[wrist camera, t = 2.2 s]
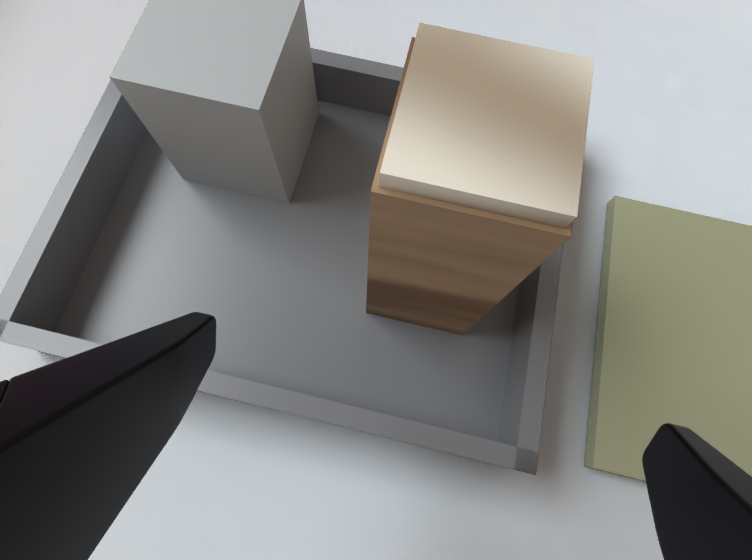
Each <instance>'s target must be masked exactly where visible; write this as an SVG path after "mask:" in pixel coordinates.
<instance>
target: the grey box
mask: <svg viewBox="0 0 752 560" xmlns="http://www.w3.org/2000/svg"><path fill="white" fill-rule="evenodd" d="M110 78H111V80H112V81H113V83H114V84H115V85H116V87H117V88H118V90H119V91H120V92H121V94H122V95H123V96H124V98H125V99H126V101H127V102H128V103H129V105H130V106H131V108H132V109H133V110H134V112H135V113H136V114H137V116H138V117H139V119H140V120H141V121H142V123H143V124H144V126H145V127H146V128H147V130H148V131H149V133H150V134H151V135H152V137H153V138H154V139H155V141H156V142H157V144H158V145H159V146H160V148H161V149H162V151H163V152H164V153H165V155H166V156H167V157H168V159H169V160H170V162H171V163H172V164H173V166H174V167H175V169H176V170H177V171H178V173H179V174H180V175H181V177H182V178H183V179H185V180H189V181H194V182H198V183H202V184H207V185H211V186H215V187H220V188H224V189H229V190H233V191H237V192H242V193H246V194H250V195H255V196H259V197H264V198H268V199H272V200H277V201H281V202H285V203H290V200H291V197H292V194H293V190H294V187H295V184H296V181H297V178H298V175H299V172H300V169H301V166H302V163H303V160H304V157H305V154H306V151H307V148H308V145H309V142H310V139H311V136H312V133H313V130H314V127H315V124H316V121H317V118H318V115H319V109H318V102H317V94H316V87H315V80H314V72H313V65H312V57H311V50H310V43H309V35H308V28H307V21H306V13H305V6H304V0H149V2H148V3H147V5H146V7H145V9H144V11H143V13H142V15H141V17H140V19H139V21H138V23H137V25H136V27H135V29H134V31H133V33H132V34H131V36H130V38H129V40H128V42H127V44H126V46H125V48H124V50H123V52H122V54H121V56H120V58H119V60H118V62H117V64H116V65H115V67H114V69H113V71H112V73H111V75H110Z"/></svg>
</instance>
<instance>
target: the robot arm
mask: <svg viewBox="0 0 752 560" xmlns="http://www.w3.org/2000/svg"><path fill="white" fill-rule="evenodd" d="M215 351H216V318H215V317H214V316H213V315H209V314H205V313H201V312H192V313H189V314H186V315H184V316H181V317H178V318H175V319H173V320H170V321H167V322H164V323H162V324H159V325H156V326H153V327H151V328H148V329H145V330H142V331H140V332H137V333H134V334H131V335H128V336H126V337H123V338H120V339H117V340H115V341H112V342H109V343H106V344H104V345H101V346H98V347H95V348H93V349H90V350H87V351H84V352H82V353H79V354H76V355H73V356H70V357H68V358H65V359H62V360H59V361H57V362H54V363H51V364H48V365H46V366H43V367H40V368H37V369H34V370H32V371H29V372H26V373H23V374H21V375H18V376H15V377H13V378H11V379H10V381H8V380H4V381H1V382H0V560H88V558H89V557H90V555H91V554H92V553H93V551H94V550H95V548H96V547H97V545H98V544H99V542H100V541H101V539H102V538H103V536H104V535H105V533H106V532H107V530H108V529H109V527H110V526H111V524H112V523H113V521H114V520H115V519H116V517H117V516H118V514H119V513H120V511H121V510H122V508H123V507H124V505H125V504H126V502H127V501H128V499H129V498H130V496H131V495H132V493H133V492H134V490H135V489H136V487H137V486H138V485H139V483H140V482H141V480H142V479H143V477H144V476H145V474H146V473H147V471H148V470H149V468H150V467H151V465H152V464H153V462H154V461H155V459H156V458H157V456H158V455H159V453H160V452H161V451H162V449H163V448H164V446H165V445H166V443H167V442H168V440H169V439H170V437H171V436H172V434H173V433H174V431H175V430H176V428H177V426H178V425H179V423H180V422H181V420H182V418H183V416H184V414H185V413H186V411H187V409H188V407H189V405H190V403H191V401H192V399H193V397H194V395H195V393H196V391H197V390H198V388H199V386H200V384H201V382H202V380H203V378H204V376H205V374H206V372H207V370H208V369H209V367H210V365H211V363H212V361H213V358H214V356H215ZM642 465H643V470H644V475H645V479H646V484H647V489H648V494H649V499H650V504H651V508H652V513H653V518H654V523H655V528H656V532H657V536H658V540H659V544H660V547H661V551H662V554H663V558H664V560H752V476H750V475H749V474H748V473H746V472H745V471H744V470H743V469H741V468H740V467H739V466H737V465H736V464H735V463H734V462H732V461H731V460H730V459H728V458H727V457H726V456H725V455H723V454H722V453H721V452H719V451H718V450H717V449H715V448H714V447H713V446H712V445H710V444H709V443H708V442H706V441H705V440H704V439H703V438H701V437H700V436H699V435H697V434H696V433H695V432H694V431H692V430H691V429H689V428H687V427H684V426H680V425H675V424H671V423H665V424H663V425H661V426H660V427H659V429H658V430H657V432H656V433H655V435H654V437H653V438H652V440H651V441H650V443H649V444H648V446H647V447H646V449H645V451H644V453H643V457H642Z"/></svg>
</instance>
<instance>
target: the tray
mask: <svg viewBox="0 0 752 560" xmlns="http://www.w3.org/2000/svg"><path fill="white" fill-rule="evenodd" d="M310 50H311V57H312V65H313V72H314V80H315V87H316V94H317V102H318V109H319V115H318V118H317V121H316V124H315V127H314V130H313V133H312V136H311V139H310V142H309V145H308V148H307V151H306V154H305V157H304V160H303V163H302V166H301V169H300V172H299V175H298V178H297V181H296V184H295V187H294V190H293V194H292V197H291V200H290V203H285V202H281V201H277V200H272V199H268V198H264V197H259V196H255V195H250V194H246V193H242V192H237V191H233V190H229V189H224V188H220V187H215V186H211V185H207V184H202V183H198V182H194V181H189V180H185V179H183V178H182V177H181V175H180V174H179V173H178V171H177V170H176V169H175V167H174V166H173V164H172V163H171V162H170V160H169V159H168V157H167V156H166V155H165V153H164V152H163V151H162V149H161V148H160V146H159V145H158V144H157V142H156V141H155V139H154V138H153V137H152V135H151V134H150V133H149V131H148V130H147V128H146V127H145V126H144V124H143V123H142V121H141V120H140V119H139V117H138V116H137V114H136V113H135V112H134V110H133V109H132V108H131V106H130V105H129V103H128V102H127V101H126V99H125V98H124V96H123V95H122V94H121V92H120V91H119V90H118V88H117V87H116V85H115V84H114V83H113V81H112V80H110V82H109V84H108V86H107V88H106V90H105V92H104V94H103V96H102V98H101V100H100V102H99V104H98V106H97V108H96V110H95V112H94V114H93V115H92V117H91V119H90V121H89V123H88V125H87V127H86V129H85V131H84V133H83V135H82V137H81V139H80V141H79V143H78V145H77V147H76V149H75V150H74V152H73V154H72V156H71V158H70V160H69V162H68V164H67V166H66V168H65V170H64V172H63V174H62V176H61V178H60V180H59V182H58V184H57V186H56V187H55V189H54V191H53V193H52V195H51V197H50V199H49V201H48V203H47V205H46V207H45V209H44V211H43V213H42V215H41V217H40V219H39V221H38V222H37V224H36V226H35V228H34V230H33V232H32V234H31V236H30V238H29V240H28V242H27V244H26V246H25V248H24V250H23V252H22V254H21V256H20V258H19V259H18V261H17V263H16V265H15V267H14V269H13V271H12V273H11V275H10V277H9V279H8V281H7V283H6V285H5V287H4V289H3V291H2V293H1V294H0V341H1V342H5V343H9V344H13V345H17V346H21V347H25V348H29V349H33V350H37V351H41V352H45V353H49V354H53V355H57V356H61V357H65V358H68V357H70V356H73V355H76V354H79V353H82V352H84V351H87V350H90V349H93V348H95V347H98V346H101V345H104V344H106V343H109V342H112V341H115V340H117V339H120V338H123V337H126V336H128V335H131V334H134V333H137V332H140V331H142V330H145V329H148V328H151V327H153V326H156V325H159V324H162V323H164V322H167V321H170V320H173V319H175V318H178V317H181V316H184V315H186V314H189V313H192V312H201V313H205V314H209V315H213V316H214V317H215V318H216V351H215V356H214V358H213V361H212V363H211V365H210V367H209V369H208V370H207V372H206V374H205V376H204V378H203V380H202V382H201V384H200V386H199V388H198V390H197V391H201V392H205V393H209V394H213V395H217V396H221V397H225V398H229V399H233V400H237V401H241V402H245V403H249V404H253V405H257V406H261V407H266V408H270V409H274V410H278V411H282V412H286V413H290V414H294V415H298V416H302V417H306V418H310V419H314V420H318V421H322V422H326V423H330V424H334V425H338V426H342V427H346V428H350V429H354V430H358V431H362V432H366V433H370V434H374V435H378V436H382V437H386V438H390V439H394V440H398V441H402V442H406V443H410V444H414V445H418V446H422V447H426V448H430V449H434V450H438V451H442V452H446V453H450V454H454V455H458V456H462V457H466V458H470V459H474V460H478V461H482V462H486V463H490V464H494V465H498V466H502V467H506V468H510V469H514V470H518V471H522V472H526V473H530V474H534V475H536V469H537V460H538V451H539V443H540V434H541V426H542V417H543V409H544V400H545V392H546V383H547V375H548V366H549V358H550V349H551V341H552V332H553V324H554V315H555V307H556V298H557V290H558V281H559V272H560V264H561V255H562V247H563V244H562V245H561V246H560V247H559V248H558V249H557V250H556V251H555V252H553V253H552V254H551V255H550V256H549V257H548V258H547V259H546V260H545V261H544V262H542V263H541V264H540V265H539V266H538V267H537V268H536V269H535V270H534V271H533V272H531V273H530V274H529V275H528V276H527V277H526V278H525V279H524V280H523V281H522V282H520V283H519V284H518V285H517V286H516V287H515V288H514V289H513V290H512V291H511V292H509V293H508V294H507V295H506V296H505V297H504V298H503V299H502V300H501V301H500V302H498V303H497V304H496V305H495V306H494V307H493V308H492V309H491V310H490V311H488V312H487V313H486V314H485V315H484V316H483V317H482V318H481V319H480V320H479V321H477V322H476V323H475V324H474V325H473V326H472V327H471V328H470V329H469V330H468V331H466V332H465V333H464V334H463V335H462V336H461V335H457V334H453V333H449V332H444V331H440V330H436V329H432V328H428V327H423V326H419V325H415V324H411V323H407V322H402V321H398V320H394V319H390V318H386V317H381V316H377V315H373V314H369V313H366V298H367V272H368V246H369V220H370V193H371V188H372V184H373V181H374V177H375V173H376V169H377V166H378V162H379V158H380V155H381V151H382V147H383V143H384V140H385V136H386V132H387V129H388V125H389V121H390V118H391V114H392V110H393V106H394V103H395V99H396V95H397V92H398V88H399V84H400V80H401V77H402V73H403V69H404V68H402V67H397V66H392V65H388V64H383V63H378V62H374V61H369V60H364V59H360V58H355V57H350V56H346V55H341V54H336V53H331V52H327V51H322V50H317V49H313V48H310Z"/></svg>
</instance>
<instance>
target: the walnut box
mask: <svg viewBox="0 0 752 560" xmlns="http://www.w3.org/2000/svg"><path fill="white" fill-rule="evenodd" d="M593 67H594V59H591V58H586V57H581V56H576V55H572V54H567V53H562V52H557V51H553V50H548V49H543V48H538V47H533V46H529V45H524V44H519V43H514V42H509V41H505V40H500V39H495V38H490V37H485V36H481V35H476V34H471V33H466V32H462V31H457V30H452V29H447V28H442V27H438V26H433V25H428V24H423V23H420V24H419V27H418V31H417V35H416V38H414V37H412V40H411V43H410V47H409V51H408V55H407V58H406V62H405V66H404V69H403V73H402V77H401V80H400V84H399V88H398V92H397V95H396V99H395V103H394V106H393V110H392V114H391V118H390V121H389V125H388V129H387V132H386V136H385V140H384V143H383V147H382V151H381V155H380V158H379V162H378V166H377V169H376V173H375V177H374V181H373V184H372V188H371V193H370V220H369V246H368V272H367V298H366V313H369V314H373V315H377V316H381V317H386V318H390V319H394V320H398V321H402V322H407V323H411V324H415V325H419V326H423V327H428V328H432V329H436V330H440V331H444V332H449V333H453V334H457V335H461V336H462V335H463V334H464V333H465V332H466V331H468V330H469V329H470V328H471V327H472V326H473V325H474V324H475V323H476V322H477V321H479V320H480V319H481V318H482V317H483V316H484V315H485V314H486V313H487V312H488V311H490V310H491V309H492V308H493V307H494V306H495V305H496V304H497V303H498V302H500V301H501V300H502V299H503V298H504V297H505V296H506V295H507V294H508V293H509V292H511V291H512V290H513V289H514V288H515V287H516V286H517V285H518V284H519V283H520V282H522V281H523V280H524V279H525V278H526V277H527V276H528V275H529V274H530V273H531V272H533V271H534V270H535V269H536V268H537V267H538V266H539V265H540V264H541V263H542V262H544V261H545V260H546V259H547V258H548V257H549V256H550V255H551V254H552V253H553V252H555V251H556V250H557V249H558V248H559V247H560V246H561V245H562V244H563V243H565V242H566V241H567V240H568V239H569V238H570V237H571V232H572V223H573V221H574V220H575V219H576V218H577V214H578V205H579V196H580V186H581V177H582V168H583V159H584V150H585V141H586V131H587V122H588V113H589V104H590V95H591V85H592V76H593Z"/></svg>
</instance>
